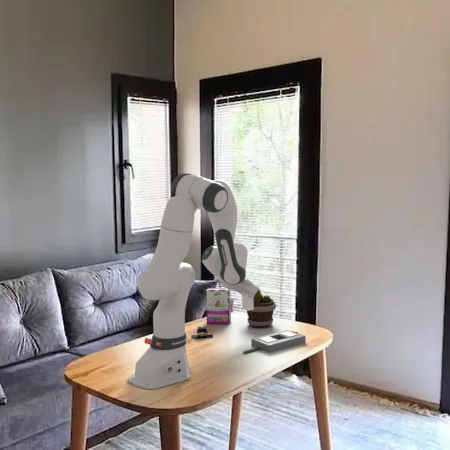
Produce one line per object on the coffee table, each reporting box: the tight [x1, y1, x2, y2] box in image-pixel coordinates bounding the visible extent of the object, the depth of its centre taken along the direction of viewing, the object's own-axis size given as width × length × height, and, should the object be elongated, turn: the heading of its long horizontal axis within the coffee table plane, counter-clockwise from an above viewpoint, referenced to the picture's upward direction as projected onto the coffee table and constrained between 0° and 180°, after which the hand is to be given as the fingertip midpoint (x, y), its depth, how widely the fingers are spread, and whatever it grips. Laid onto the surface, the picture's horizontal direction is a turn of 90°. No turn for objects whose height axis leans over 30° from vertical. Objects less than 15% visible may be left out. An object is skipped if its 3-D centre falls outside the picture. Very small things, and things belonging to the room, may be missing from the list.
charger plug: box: [241, 293, 254, 312], centre depth 227 cm, size 3×4×8 cm
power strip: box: [242, 329, 307, 354], centre depth 215 cm, size 28×11×4 cm, turn 126°
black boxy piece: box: [190, 326, 214, 340], centre depth 229 cm, size 12×7×5 cm, turn 93°
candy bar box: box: [205, 287, 232, 325], centre depth 250 cm, size 11×5×16 cm, turn 81°
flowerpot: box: [246, 284, 277, 329], centre depth 244 cm, size 14×15×20 cm
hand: (248, 295), depth 227 cm, fingers closed on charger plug, 4 cm apart
